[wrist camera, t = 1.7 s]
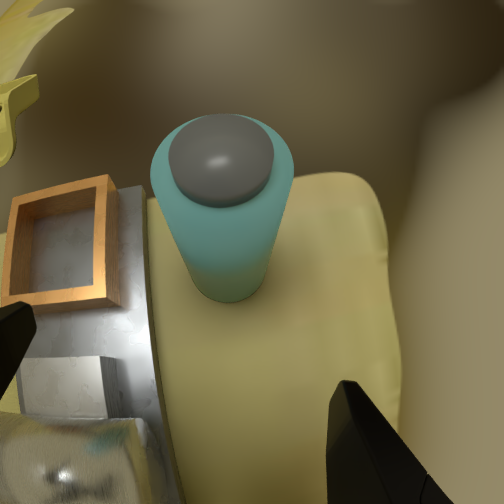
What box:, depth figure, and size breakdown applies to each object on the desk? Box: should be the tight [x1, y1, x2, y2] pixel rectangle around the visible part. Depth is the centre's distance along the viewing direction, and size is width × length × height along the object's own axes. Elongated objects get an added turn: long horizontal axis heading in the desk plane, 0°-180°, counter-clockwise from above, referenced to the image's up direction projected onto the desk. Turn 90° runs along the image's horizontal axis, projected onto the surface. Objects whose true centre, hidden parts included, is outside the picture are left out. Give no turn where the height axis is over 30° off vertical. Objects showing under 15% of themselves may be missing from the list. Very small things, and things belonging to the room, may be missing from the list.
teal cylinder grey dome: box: [151, 114, 294, 303], centre depth 16 cm, size 5×5×12 cm
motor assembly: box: [0, 174, 186, 504], centre depth 15 cm, size 23×11×8 cm, turn 10°
